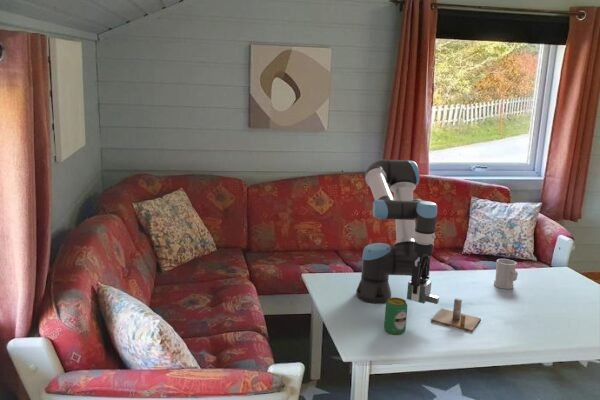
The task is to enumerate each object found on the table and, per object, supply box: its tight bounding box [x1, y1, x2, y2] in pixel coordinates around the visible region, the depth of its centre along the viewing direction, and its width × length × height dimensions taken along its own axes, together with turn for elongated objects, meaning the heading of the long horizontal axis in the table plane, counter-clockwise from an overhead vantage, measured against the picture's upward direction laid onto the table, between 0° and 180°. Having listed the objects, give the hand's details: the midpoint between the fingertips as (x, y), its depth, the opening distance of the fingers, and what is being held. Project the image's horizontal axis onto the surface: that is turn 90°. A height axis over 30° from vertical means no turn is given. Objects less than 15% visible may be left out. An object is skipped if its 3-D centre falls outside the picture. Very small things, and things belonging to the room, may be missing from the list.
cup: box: [493, 258, 519, 290], centre depth 257 cm, size 10×9×12 cm
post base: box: [430, 298, 482, 333], centre depth 217 cm, size 16×13×9 cm
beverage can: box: [383, 297, 408, 336], centre depth 206 cm, size 8×8×12 cm
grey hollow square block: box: [406, 279, 440, 305], centre depth 214 cm, size 11×7×7 cm, turn 59°
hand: (418, 297), depth 215 cm, fingers closed on grey hollow square block, 7 cm apart
